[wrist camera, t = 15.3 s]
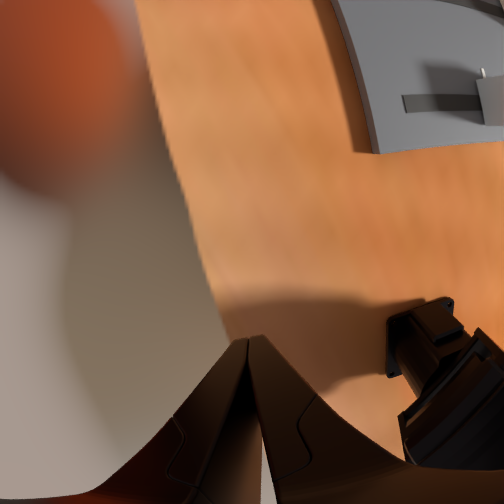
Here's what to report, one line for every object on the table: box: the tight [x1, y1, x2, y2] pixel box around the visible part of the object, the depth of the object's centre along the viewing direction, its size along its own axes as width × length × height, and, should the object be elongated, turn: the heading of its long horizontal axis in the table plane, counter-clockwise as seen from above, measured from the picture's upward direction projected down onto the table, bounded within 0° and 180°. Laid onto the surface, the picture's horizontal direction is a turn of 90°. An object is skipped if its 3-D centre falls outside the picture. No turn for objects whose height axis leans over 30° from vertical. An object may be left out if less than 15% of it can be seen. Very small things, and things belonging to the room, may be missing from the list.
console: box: [331, 0, 504, 154], centre depth 14 cm, size 15×22×2 cm
